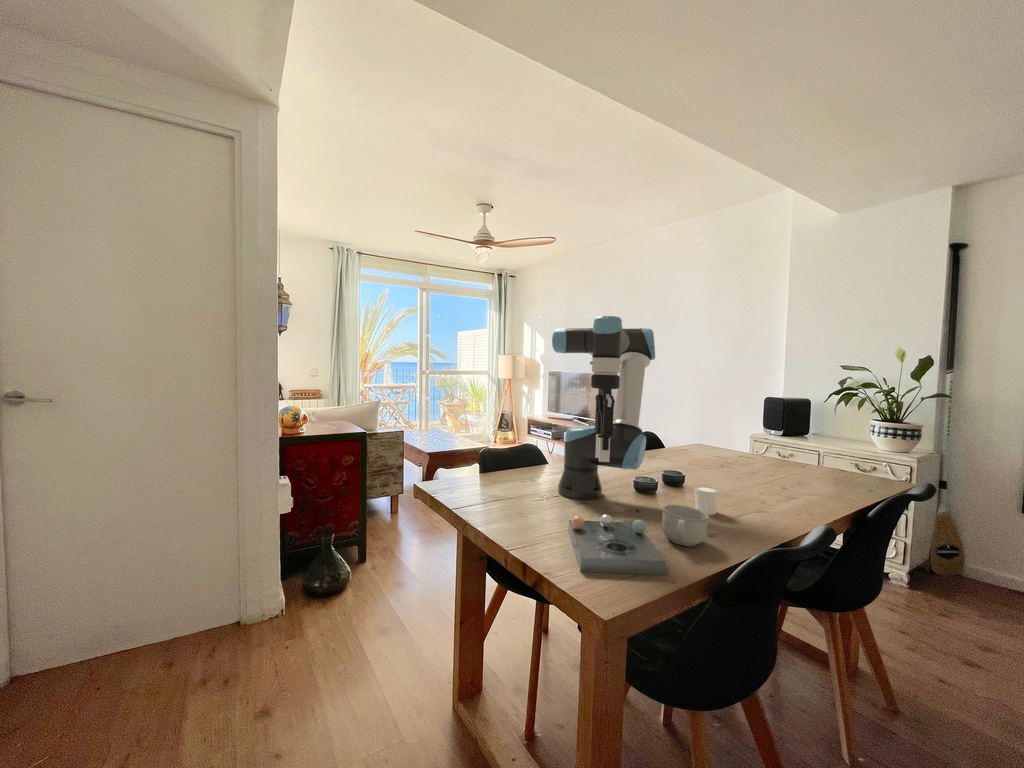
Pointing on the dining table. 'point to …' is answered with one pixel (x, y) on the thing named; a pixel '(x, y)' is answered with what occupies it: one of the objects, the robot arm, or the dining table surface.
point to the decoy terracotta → (577, 522)
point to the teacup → (684, 524)
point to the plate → (615, 549)
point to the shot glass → (706, 499)
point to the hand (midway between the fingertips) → (602, 459)
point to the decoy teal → (639, 526)
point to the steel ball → (606, 520)
